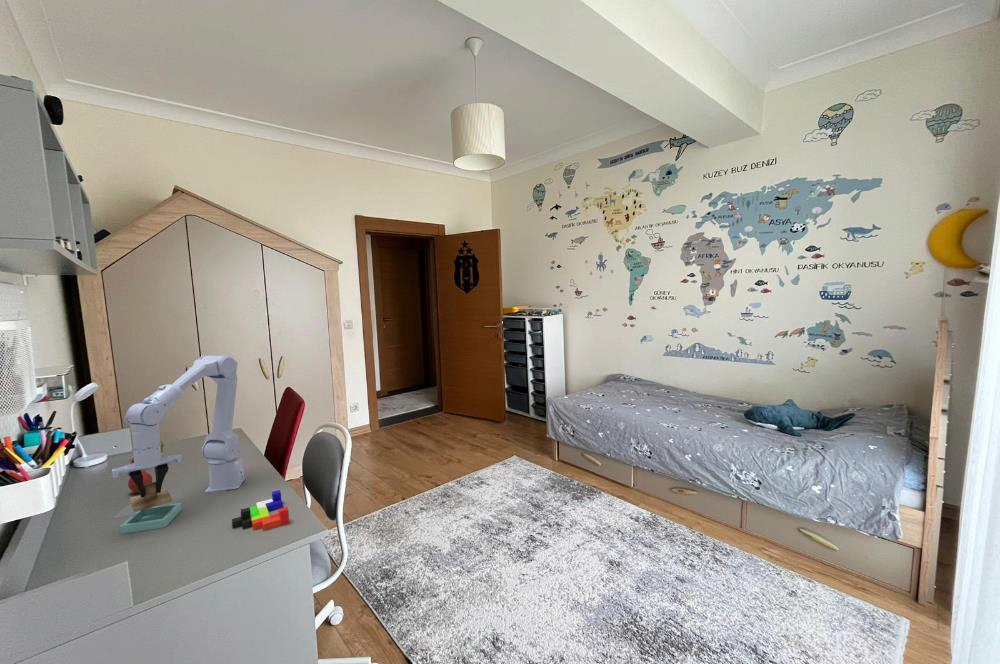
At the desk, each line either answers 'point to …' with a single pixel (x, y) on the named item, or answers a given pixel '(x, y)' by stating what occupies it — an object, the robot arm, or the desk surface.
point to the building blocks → (263, 514)
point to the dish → (151, 518)
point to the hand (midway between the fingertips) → (150, 494)
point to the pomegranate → (146, 479)
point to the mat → (126, 512)
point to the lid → (150, 498)
